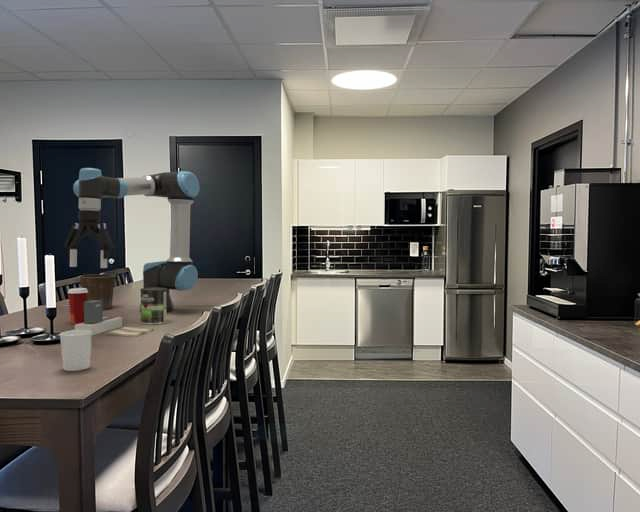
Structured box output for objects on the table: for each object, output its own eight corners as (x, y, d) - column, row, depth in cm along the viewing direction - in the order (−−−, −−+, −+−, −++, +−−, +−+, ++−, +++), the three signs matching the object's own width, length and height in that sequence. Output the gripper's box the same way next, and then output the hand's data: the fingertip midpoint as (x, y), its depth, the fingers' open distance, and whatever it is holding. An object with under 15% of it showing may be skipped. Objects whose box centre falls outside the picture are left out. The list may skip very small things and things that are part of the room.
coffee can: (155, 325, 205) (155, 290, 204) (135, 323, 209) (134, 289, 208) (172, 321, 214) (171, 287, 214) (152, 319, 218) (152, 286, 218)
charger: (93, 326, 195) (92, 300, 194) (102, 326, 194) (102, 300, 193) (84, 328, 190) (83, 302, 189) (93, 329, 189) (93, 302, 188)
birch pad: (125, 328, 198) (125, 326, 198) (153, 330, 195) (153, 328, 195) (105, 335, 186) (105, 332, 186) (135, 336, 183) (135, 334, 183)
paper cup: (92, 321, 213) (91, 288, 212) (82, 324, 206) (81, 290, 205) (74, 321, 214) (74, 287, 213) (63, 324, 206) (63, 289, 206)
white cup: (67, 364, 146) (67, 329, 146) (96, 364, 147) (95, 329, 146) (55, 372, 138) (55, 335, 138) (86, 371, 139) (85, 335, 139)
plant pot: (122, 308, 247) (122, 275, 246) (88, 312, 235) (87, 277, 234) (107, 305, 258) (107, 273, 257) (74, 308, 246) (73, 275, 245)
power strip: (107, 326, 204) (106, 315, 204) (122, 327, 203) (122, 316, 202) (74, 335, 187) (74, 323, 187) (91, 336, 185) (90, 324, 185)
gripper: (54, 209, 190) (53, 266, 191) (111, 209, 183) (110, 268, 184) (69, 211, 198) (68, 265, 198) (124, 211, 191) (123, 268, 191)
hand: (88, 267), depth 191 cm, fingers open, 13 cm apart
